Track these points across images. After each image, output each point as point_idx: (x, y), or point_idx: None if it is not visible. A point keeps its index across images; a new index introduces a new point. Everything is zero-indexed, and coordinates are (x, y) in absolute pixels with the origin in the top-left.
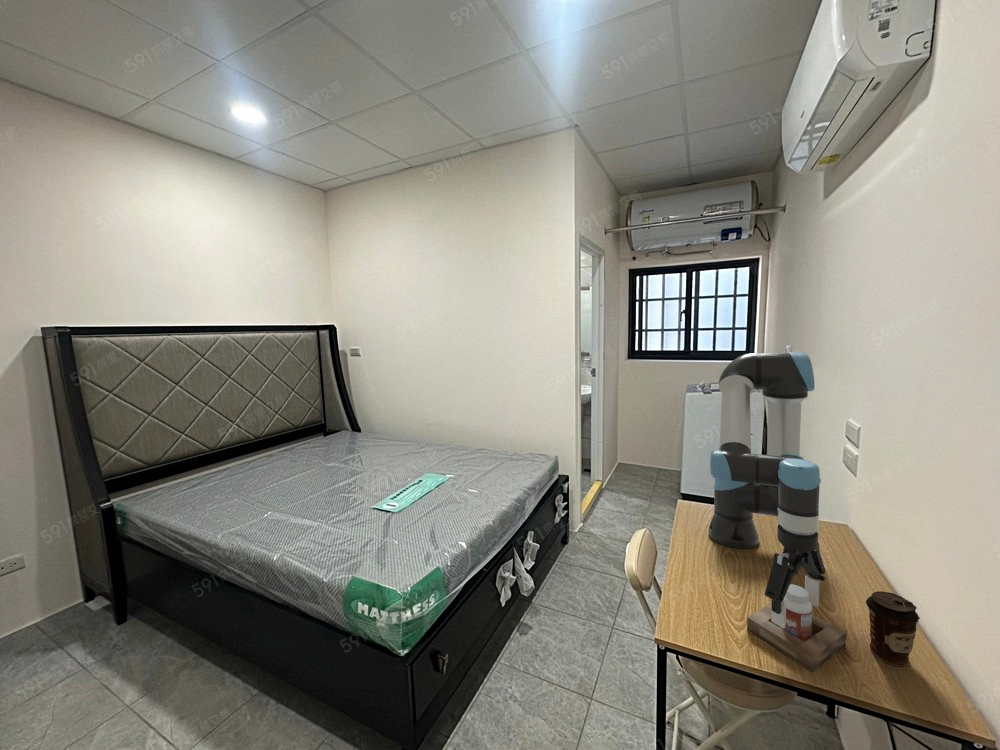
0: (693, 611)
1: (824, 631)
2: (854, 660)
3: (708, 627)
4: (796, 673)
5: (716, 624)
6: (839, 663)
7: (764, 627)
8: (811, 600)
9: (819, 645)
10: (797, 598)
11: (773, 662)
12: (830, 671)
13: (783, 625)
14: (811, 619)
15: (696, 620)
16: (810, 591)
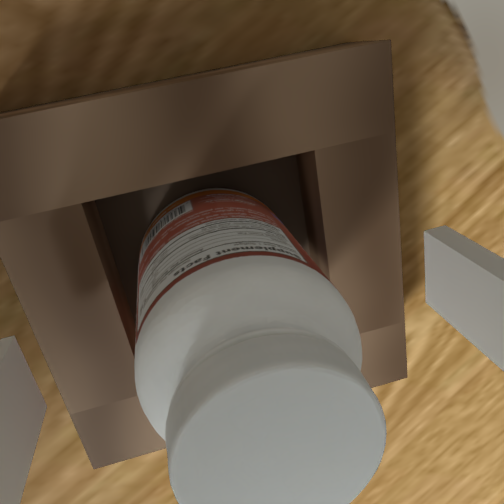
0: (462, 458)
1: (99, 184)
2: (36, 14)
3: (491, 379)
4: (421, 64)
5: (450, 387)
6: (150, 31)
7: (403, 300)
8: (21, 390)
9: (256, 97)
10: (357, 368)
11: (448, 153)
12: (255, 7)
13: (456, 234)
14: (191, 241)
15: (495, 417)
16: (4, 457)
